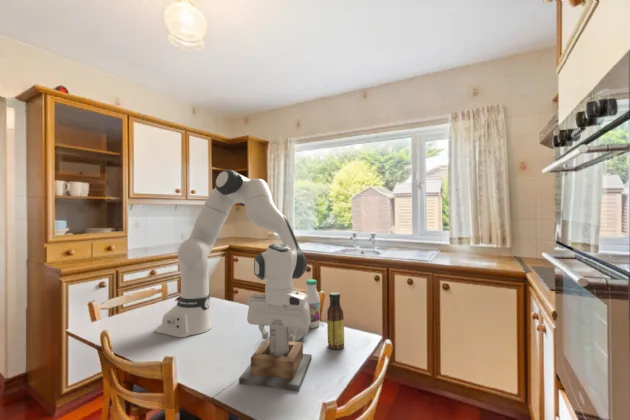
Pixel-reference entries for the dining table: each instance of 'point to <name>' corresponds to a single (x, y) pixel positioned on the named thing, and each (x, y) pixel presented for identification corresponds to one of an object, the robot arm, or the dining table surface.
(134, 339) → the dining table surface
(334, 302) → the sauce bottle
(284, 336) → the energy drink can
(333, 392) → the dining table surface
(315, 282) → the milk bottle
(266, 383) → the socket holder
